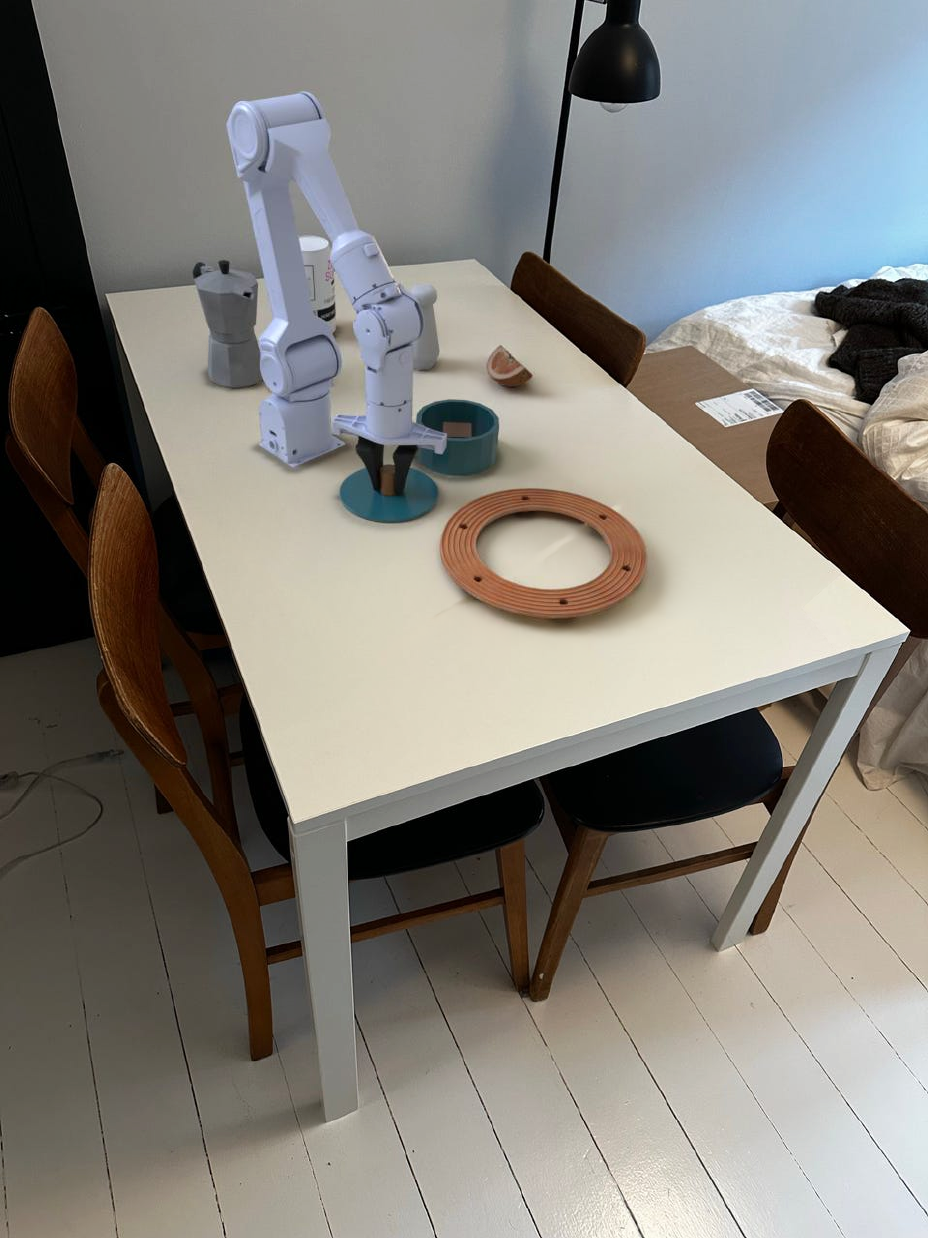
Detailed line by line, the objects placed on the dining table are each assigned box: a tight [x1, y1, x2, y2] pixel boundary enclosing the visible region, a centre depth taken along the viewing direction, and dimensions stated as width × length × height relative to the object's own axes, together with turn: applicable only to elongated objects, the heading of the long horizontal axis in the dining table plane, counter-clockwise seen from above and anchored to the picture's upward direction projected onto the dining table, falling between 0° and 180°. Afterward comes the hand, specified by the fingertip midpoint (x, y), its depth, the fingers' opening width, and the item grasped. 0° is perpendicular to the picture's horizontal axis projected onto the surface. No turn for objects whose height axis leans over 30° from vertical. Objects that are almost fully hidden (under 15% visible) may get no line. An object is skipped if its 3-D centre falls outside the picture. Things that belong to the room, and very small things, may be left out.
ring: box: [439, 487, 648, 620], centre depth 114 cm, size 25×25×2 cm
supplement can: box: [298, 235, 337, 334], centre depth 155 cm, size 8×8×15 cm
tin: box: [415, 398, 500, 477], centre depth 130 cm, size 11×11×6 cm
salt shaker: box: [409, 283, 441, 371], centre depth 149 cm, size 6×6×13 cm
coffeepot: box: [192, 259, 263, 389], centre depth 142 cm, size 15×9×18 cm, turn 44°
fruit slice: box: [486, 344, 533, 387], centre depth 148 cm, size 8×7×5 cm
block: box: [443, 422, 472, 439], centre depth 131 cm, size 4×4×4 cm
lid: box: [339, 463, 439, 524], centre depth 122 cm, size 13×13×4 cm
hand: (389, 488), depth 123 cm, fingers closed on lid, 2 cm apart
